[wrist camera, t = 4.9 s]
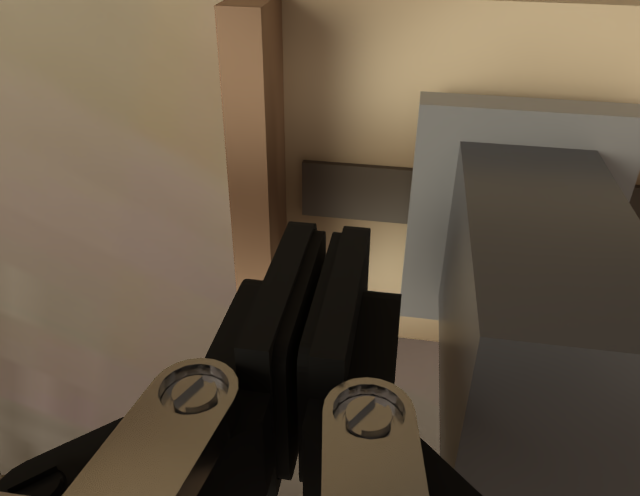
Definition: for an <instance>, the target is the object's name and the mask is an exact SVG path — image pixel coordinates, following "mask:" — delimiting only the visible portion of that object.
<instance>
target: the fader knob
mask: <svg viewBox="0 0 640 496" xmlns="http://www.w3.org/2000/svg"><path fill="white" fill-rule="evenodd" d="M639 171H640V104H632V103H615V102H598V101H580V100H563V99H545V98H528V97H511V96H493V95H476V94H459V93H441V92H424V91H421V92H420V102H419V112H418V122H417V132H416V142H415V152H414V162H413V172H412V182H411V192H410V203H409V213H408V223H407V233H406V243H405V253H404V263H403V273H402V283H401V293H400V294H402V297H401V309H400V316H405V317H414V318H423V319H432V320H439V406H440V456H441V457H442V458H443V459H444V460H445V461H446V462H447V463H448V464H449V465H450V466H451V467H452V468H453V469H455V470H456V471H457V472H458V473H459V474H460V475H461V476H462V477H463V478H464V479H465V480H466V481H467V482H469V483H470V484H471V485H472V486H473V487H474V488H475V489H476V490H477V491H478V492H479V493H480V494H481V495H483V496H640V219H639V218H638V216H637V215H636V213H635V211H634V210H633V208H632V206H631V205H630V203H629V202H630V199H631V196H632V193H633V190H634V186H635V183H636V180H637V177H638V174H639Z"/></svg>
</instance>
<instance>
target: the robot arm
mask: <svg viewBox="0 0 640 496" xmlns="http://www.w3.org/2000/svg"><path fill="white" fill-rule="evenodd" d="M370 236H371V229H370V228H365V227H353V226H344V227H343V230H342V233H341V232H333V233H332V236H331V239H330V243H329V246H328V250H327V253H326V232H325V231H318V230H317V226H316V223H305V222H293V221H289V222H288V224H287V227H286V229H285V231H284V233H283V236H282V238H281V240H280V243H279V245H278V247H277V250H276V252H275V254H274V257H273V259H272V261H271V263H270V266H269V268H268V270H267V273H266V275H265V277H264V280H255V279H244V280H243V281H242V283H241V284H240V286H239V289H238V291H237V293H236V295H235V297H234V299H233V301H232V303H231V305H230V307H229V309H228V311H227V313H226V315H225V317H224V319H223V322H222V324H221V326H220V328H219V330H218V332H217V334H216V336H215V338H214V340H213V342H212V344H211V346H210V348H209V350H208V352H207V354H206V357H205V358H194V359H187V360H183V361H180V362H177V363H174V364H173V365H171V366H169V367H167V368H166V369H164V370H163V371H162V372H161V373H160V374H159V375H157V376H156V377H155V378H154V380H153V381H152V382H151V383H150V385H149V386H148V387H147V389H146V390H145V391H144V392H143V394H142V395H141V396H140V397H139V399H138V400H137V401H136V402H135V404H134V405H133V406H132V407H131V409H130V410H129V411H128V413H127V414H126V415H125V416H124V417H122V418H120V419H118V420H116V421H113V422H111V423H109V424H107V425H105V426H102V427H100V428H98V429H96V430H94V431H91V432H89V433H87V434H85V435H83V436H80V437H78V438H76V439H74V440H72V441H69V442H67V443H65V444H63V445H61V446H58V447H56V448H54V449H52V450H50V451H47V452H45V453H43V454H41V455H39V456H36V457H34V458H32V459H30V460H28V461H26V462H24V463H22V464H20V465H19V466H17V467H15V468H14V469H12V470H11V471H10V472H8V473H7V474H6V475H1V473H0V496H277V495H278V491H279V487H280V483H281V479H285V480H291V479H292V477H293V473H294V469H295V465H296V461H297V456H298V452H299V481H300V482H303V496H483V495H481V494H480V493H479V492H478V491H477V490H476V489H475V488H474V487H473V486H472V485H471V484H470V483H469V482H467V481H466V480H465V479H464V478H463V477H462V476H461V475H460V474H459V473H458V472H457V471H456V470H455V469H453V468H452V467H451V466H450V465H449V464H448V463H447V462H446V461H445V460H444V459H443V458H442V457H441V456H439V455H438V454H437V453H436V452H435V451H434V450H433V449H432V448H431V447H430V446H429V445H428V444H427V443H425V442H424V441H423V440H422V439H421V438H420V435H419V429H418V423H417V417H416V411H415V408H414V405H413V403H412V400H411V399H410V398H409V396H408V395H407V394H406V393H405V392H404V391H403V390H402V389H400V388H399V387H397V386H396V385H394V382H395V370H396V358H397V346H398V334H399V321H400V309H401V297H402V294H397V293H386V292H376V291H368V273H369V255H370Z"/></svg>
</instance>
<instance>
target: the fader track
mask: <svg viewBox="0 0 640 496" xmlns="http://www.w3.org/2000/svg"><path fill="white" fill-rule="evenodd" d="M214 8H215V21H216V34H217V46H218V59H219V72H220V85H221V98H222V110H223V123H224V136H225V149H226V161H227V174H228V187H229V200H230V213H231V225H232V238H233V251H234V264H235V277H236V289H237V291H238V289H239V286H240V284H241V283H242V281H243V280H244V279H255V280H264V277H265V275H266V273H267V270H268V268H269V266H270V263H271V261H272V259H273V257H274V254H275V252H276V250H277V247H278V245H279V243H280V240H281V238H282V236H283V233H284V231H285V229H286V227H287V224H288V222H289V221H293V222H305V223H316V226H317V230H318V231H325V232H326V253H327V250H328V246H329V243H330V239H331V236H332V233H333V232H341V233H342V230H343V227H344V226H353V227H365V228H370V229H371V236H370V255H369V273H368V291H376V292H386V293H397V294H400V293H401V283H402V273H403V263H404V253H405V243H406V233H407V223H408V213H409V203H410V192H411V182H412V172H413V162H414V152H415V142H416V132H417V122H418V112H419V102H420V92H421V91H424V92H441V93H459V94H476V95H493V96H511V97H528V98H545V99H563V100H580V101H598V102H615V103H632V104H640V0H224V1H222V2H220V3H218V4H216V5H215V6H214ZM629 203H630V205H631V206H632V208H633V210H634V211H635V213H636V215H637V216H638V218H639V219H640V171H639V174H638V177H637V180H636V183H635V186H634V190H633V193H632V196H631V199H630V202H629ZM398 337H401V338H410V339H419V340H428V341H437V342H439V320H432V319H423V318H414V317H405V316H400V321H399V334H398Z"/></svg>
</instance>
